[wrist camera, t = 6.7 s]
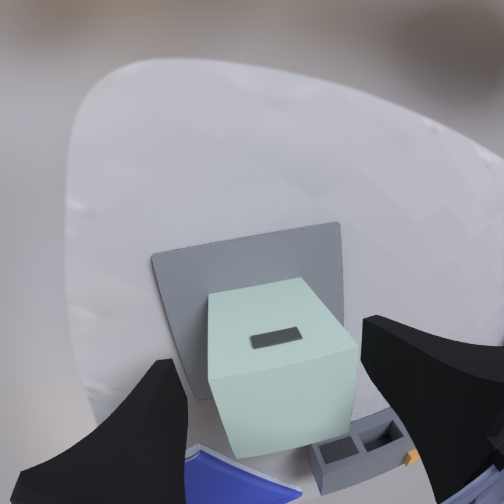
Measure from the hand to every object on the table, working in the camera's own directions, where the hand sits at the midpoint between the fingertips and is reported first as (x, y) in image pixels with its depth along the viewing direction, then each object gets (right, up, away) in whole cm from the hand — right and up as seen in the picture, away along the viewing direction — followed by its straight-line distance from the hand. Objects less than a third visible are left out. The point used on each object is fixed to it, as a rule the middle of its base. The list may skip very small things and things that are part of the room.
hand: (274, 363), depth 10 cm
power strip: (+8, -9, +7) cm, 14 cm away
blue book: (-3, -15, +8) cm, 17 cm away
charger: (0, +1, +3) cm, 3 cm away
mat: (0, +1, +3) cm, 3 cm away
